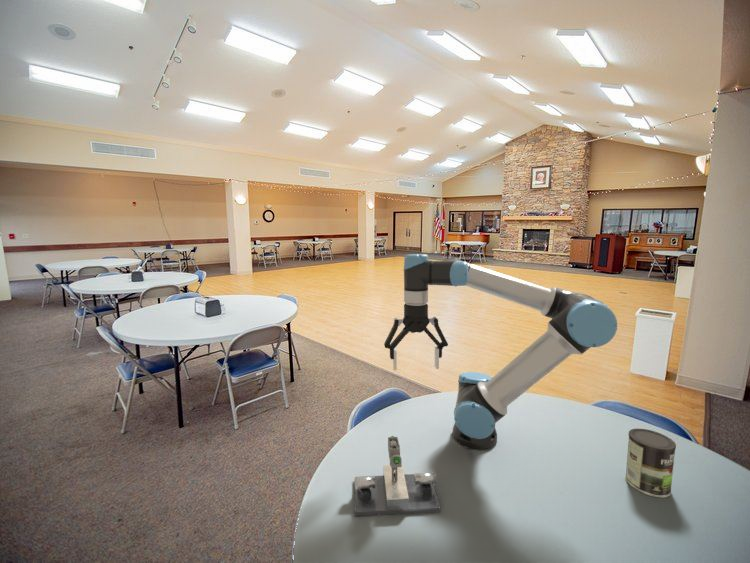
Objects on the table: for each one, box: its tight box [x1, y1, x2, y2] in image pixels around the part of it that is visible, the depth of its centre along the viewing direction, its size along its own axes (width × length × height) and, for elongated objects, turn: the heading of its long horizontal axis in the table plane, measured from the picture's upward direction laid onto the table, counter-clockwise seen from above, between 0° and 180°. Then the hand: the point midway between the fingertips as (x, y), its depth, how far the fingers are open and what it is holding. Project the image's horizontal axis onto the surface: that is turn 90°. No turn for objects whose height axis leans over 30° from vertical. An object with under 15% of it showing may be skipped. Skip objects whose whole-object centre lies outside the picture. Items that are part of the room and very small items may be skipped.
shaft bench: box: [354, 464, 441, 517], centre depth 94 cm, size 22×13×6 cm, turn 93°
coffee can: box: [624, 428, 677, 499], centre depth 96 cm, size 10×10×14 cm
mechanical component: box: [387, 435, 403, 481], centre depth 93 cm, size 3×10×10 cm, turn 4°
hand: (415, 367), depth 110 cm, fingers open, 13 cm apart
